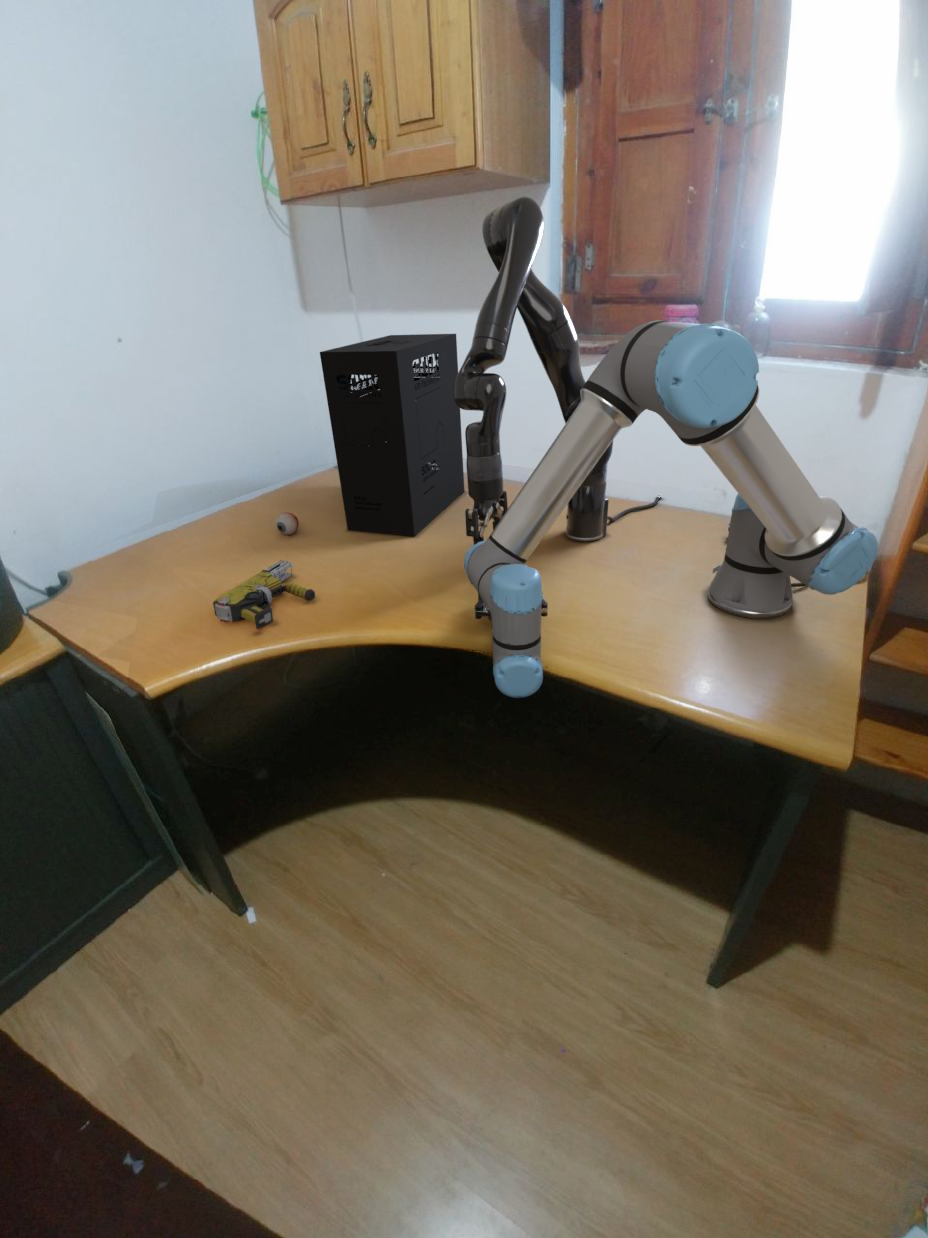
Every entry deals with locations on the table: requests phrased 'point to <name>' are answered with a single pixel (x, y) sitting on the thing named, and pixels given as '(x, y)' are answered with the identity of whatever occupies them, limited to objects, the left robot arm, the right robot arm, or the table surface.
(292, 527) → the eyeball
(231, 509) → the table surface
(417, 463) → the cardboard box
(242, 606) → the toy gun
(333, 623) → the table surface
